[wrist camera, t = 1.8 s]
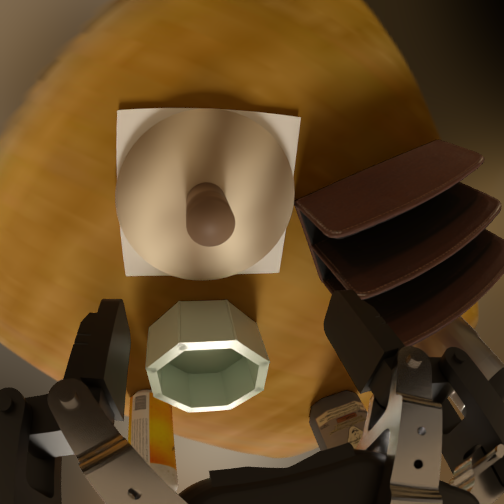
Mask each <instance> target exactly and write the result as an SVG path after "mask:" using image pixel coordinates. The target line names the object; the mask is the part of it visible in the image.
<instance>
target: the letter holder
mask: <svg viewBox="0 0 504 504" xmlns="http://www.w3.org/2000/svg"><path fill="white" fill-rule="evenodd" d="M483 162H484V157H483V156H482V155H481V154H479V153H477V152H474V151H471V150H468V149H465V148H462V147H460V146H457V145H454V144H451V143H448V142H445V141H441V140H435V141H433V142H430V143H428V144H425V145H423V146H421V147H418V148H415V149H413V150H411V151H408V152H406V153H403V154H401V155H398V156H396V157H394V158H391V159H389V160H387V161H384V162H382V163H379V164H377V165H375V166H372V167H370V168H368V169H365V170H363V171H361V172H358V173H356V174H354V175H352V176H349V177H347V178H345V179H342V180H341V181H338V182H336V183H333V184H331V185H329V186H327V187H325V188H322V189H320V190H318V191H316V192H314V193H312V194H309V195H307V196H305V197H303V198H300V199H298V200H297V201H295V202H294V205H295V208H296V211H297V214H298V217H299V219H300V221H301V224H302V227H303V230H304V233H305V236H306V239H307V242H308V245H309V248H310V251H311V254H312V257H313V260H314V263H315V266H316V269H317V272H318V275H319V278H320V279H321V282H323V283H324V285H325V286H326V287H327V288H328V290H329V291H330V293H331V294H333V292H334V291H339V290H350V289H352V290H354V291H355V292H356V294H357V295H358V296H359V297H360V298H361V299H362V300H364V301H365V302H367V303H368V304H370V305H371V306H373V307H374V308H375V309H376V311H377V312H378V313H379V314H380V317H382V318H383V319H384V320H385V322H386V324H388V325H389V326H390V328H391V329H392V330H393V331H394V333H395V334H396V335H397V336H398V337H399V339H400V340H401V341H402V342H403V344H404V345H405V346H413V345H415V344H417V343H419V342H421V341H423V340H424V339H426V338H428V337H430V336H431V335H433V334H435V333H437V332H438V331H440V330H441V329H443V328H444V327H446V326H447V325H449V324H450V323H451V322H453V321H454V320H456V319H457V318H458V317H460V316H461V315H462V314H463V313H465V312H466V311H467V310H468V309H469V308H470V307H472V306H473V305H474V304H475V303H476V302H477V301H478V300H479V299H480V298H481V297H482V296H483V295H484V294H485V293H486V292H487V291H488V290H489V289H490V288H491V287H492V286H493V285H494V284H495V283H496V282H497V281H498V280H499V279H500V277H501V276H502V275H503V274H504V239H502V238H500V237H498V236H497V235H495V234H493V233H491V232H490V231H488V230H486V229H485V228H486V227H487V226H488V225H489V224H490V223H491V222H492V221H493V219H494V218H495V217H496V216H497V215H498V213H499V212H500V211H501V203H500V201H499V200H497V199H495V198H494V197H491V196H489V195H487V194H485V193H483V192H481V191H479V190H476V189H474V188H472V187H470V186H467V185H465V184H462V183H461V182H460V181H461V180H463V179H464V178H465V177H467V176H468V175H469V174H470V173H472V172H473V171H475V170H476V169H478V167H479V166H480V165H481V164H483Z"/></svg>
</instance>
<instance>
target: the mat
mask: <svg viewBox="0 0 504 504" xmlns="http://www.w3.org/2000/svg"><path fill="white" fill-rule="evenodd" d="M194 109H206V108H148V109H128V110H118V111H117V178H118V175H119V172H120V168H121V166H122V164H123V161H124V159H125V157H126V155H127V154H128V152H129V151H130V149H131V148H132V146H133V145H134V144H135V142H136V141H137V140H138V139H139V138H140V137H141V136H142V135H143V134H144V133H145V132H146V131H147V130H148V129H150V128H151V127H152V126H154V125H155V124H157V123H158V122H160V121H161V120H163V119H166V118H168V117H170V116H172V115H174V114H177V113H181V112H184V111H188V110H194ZM222 110H227V109H222ZM227 111H231V112H235V113H238V114H240V115H243V116H245V117H248V118H250V119H251V120H253V121H255V122H256V123H258V124H259V125H261V126H262V127H263V128H264V129H266V130H267V131H268V132H269V133H270V134H271V135H272V136H273V137H274V138H275V139H276V140H277V142H278V143H279V145H280V146H281V148H282V149H283V151H284V153H285V155H286V157H287V159H288V161H289V164H290V167H291V170H292V174H293V175H294V168H295V160H296V153H297V145H298V137H299V128H300V120H301V117H294V116H287V115H279V114H271V113H262V112H252V111H241V110H227ZM120 231H121V241H122V250H123V258H124V266H125V273H126V276H172V275H169V274H167V273H164V272H162V271H160V270H159V269H157V268H155V267H153V266H152V265H150V264H149V263H148V262H146V261H145V260H144V259H143V258H142V257H141V256H140V255H139V254H138V253H137V252H136V251H135V250H134V249H133V247H132V246H131V245H130V243H129V242H128V240H127V239H126V237H125V235H124V233H123V231H122V228H121V226H120ZM285 231H286V229H285ZM285 231H284V233H283V235H282V237H281V238H280V240H279V241H278V243H277V244H276V245H275V246H274V247H273V249H272V250H271V251H270V252H269V253H268V254H267V255H266V256H265V257H264V258H262V259H261V260H260V261H258V262H257V263H256V264H254V265H253V266H251V267H249V268H248V269H246V270H244V271H242V272H240V273H237V274H256V273H279V270H280V264H281V257H282V251H283V245H284V238H285Z"/></svg>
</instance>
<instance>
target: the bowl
mask: <svg viewBox="0 0 504 504" xmlns="http://www.w3.org/2000/svg"><path fill="white" fill-rule="evenodd" d="M269 363H270V360H269V358H268V355H267V352H266V349H265V346H264V343H263V340H262V338H261V335H260V332H259V329H258V326H257V323H256V322H254V321H253V320H251V319H250V318H249V317H248V316H246V315H245V314H244V313H242V312H241V311H240V310H239V309H237V308H236V307H235V306H234V305H232V304H231V303H230V302H229V301H228V300H210V301H178V302H177V303H176V304H175V305H174V306H173V307H172V308H171V309H169V310H168V311H167V312H166V313H165V314H164V315H163V316H161V317H160V318H159V319H158V320H157V321H156V322H155V323H153V324H152V325H151V326H149V330H148V340H147V352H146V366H145V369H146V370H147V374H148V378H149V382H150V385H151V389H152V393H153V397H155V398H157V399H159V400H162V401H164V402H166V403H168V404H170V405H173V406H175V407H177V408H179V409H182V410H184V411H187V412H203V411H218V410H230V409H232V408H234V407H236V406H238V405H239V404H241V403H243V402H244V401H246V400H248V399H250V398H251V397H253V396H255V395H256V394H258V393H259V392H261V391H263V390H264V385H265V380H266V376H267V371H268V366H269Z"/></svg>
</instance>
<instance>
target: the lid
mask: <svg viewBox="0 0 504 504" xmlns="http://www.w3.org/2000/svg"><path fill="white" fill-rule="evenodd" d="M294 194H295V191H294V179H293V174H292V170H291V167H290V164H289V161H288V159H287V157H286V155H285V153H284V151H283V149H282V148H281V146H280V145H279V143H278V142H277V140H276V139H275V138H274V137H273V136H272V135H271V134H270V133H269V132H268V131H267V130H266V129H264V128H263V127H262V126H261V125H259V124H258V123H256V122H255V121H253V120H251V119H250V118H248V117H245V116H243V115H240V114H238V113H235V112H231V111H227V110H222V109H213V108H207V109H194V110H188V111H184V112H181V113H177V114H174V115H172V116H170V117H168V118H166V119H163V120H161V121H160V122H158V123H157V124H155V125H154V126H152V127H151V128H150V129H148V130H147V131H146V132H145V133H144V134H143V135H142V136H141V137H140V138H139V139H138V140H137V141H136V142H135V144H134V145H133V146H132V148H131V149H130V151H129V152H128V154H127V155H126V157H125V159H124V161H123V164H122V166H121V168H120V172H119V175H118V178H117V184H116V191H115V203H116V211H117V216H118V220H119V223H120V226H121V228H122V231H123V233H124V235H125V237H126V239H127V240H128V242H129V243H130V245H131V246H132V247H133V249H134V250H135V251H136V252H137V253H138V254H139V255H140V256H141V257H142V258H143V259H144V260H145V261H146V262H148V263H149V264H150V265H152V266H153V267H155V268H157V269H159V270H160V271H162V272H164V273H167V274H169V275H172V276H175V277H179V278H182V279H189V280H203V281H204V280H215V279H221V278H225V277H229V276H232V275H235V274H237V273H240V272H242V271H244V270H246V269H248V268H249V267H251V266H253V265H254V264H256V263H257V262H258V261H260V260H261V259H262V258H264V257H265V256H266V255H267V254H268V253H269V252H270V251H271V250H272V249H273V247H274V246H275V245H276V244H277V243H278V241H279V240H280V238H281V237H282V235H283V233H284V231H285V229H286V227H287V225H288V223H289V220H290V217H291V214H292V210H293V205H294Z"/></svg>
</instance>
